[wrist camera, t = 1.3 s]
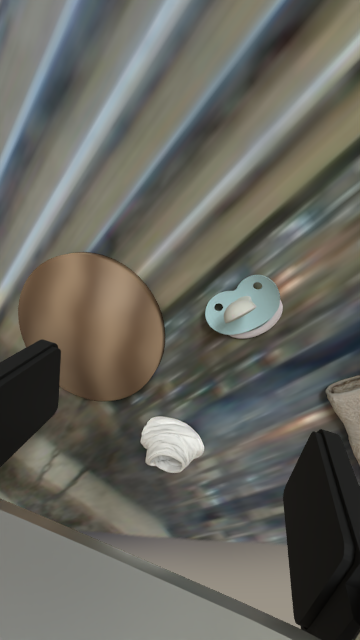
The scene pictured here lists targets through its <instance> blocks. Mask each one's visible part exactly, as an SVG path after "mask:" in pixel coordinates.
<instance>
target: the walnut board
mask: <svg viewBox="0 0 360 640" xmlns="http://www.w3.org/2000/svg"><path fill="white" fill-rule="evenodd" d="M18 317H19V325H20V330H21V334H22V338H23V340H24V343H25V345H26V347H28V346H30V345H32V344H34V343H35V342H37V341H39V340H41V339H44V340H47V341H50V342H53V343H56V344H57V345H58V348H59V349H60V350H61V363H60V381H59V386H60V387H61V388H63V389H65V390H67V391H68V392H70V393H72V394H75V395H77V396H80V397H83V398H86V399H91V400H96V401H113V400H118V399H122V398H125V397H128V396H130V395H132V394H134V393H136V392H137V391H138V390H140V389H141V388H142V387H143V386H144V385H145V384H146V383H147V382H148V381H149V380H150V378H151V377H152V375H153V374H154V372H155V371H156V369H157V368H158V366H159V364H160V362H161V359H162V356H163V353H164V347H165V327H164V321H163V317H162V313H161V311H160V308H159V305H158V303H157V301H156V299H155V297H154V296H153V294H152V292H151V291H150V290H149V288H148V287H147V285H146V284H145V283H144V282H143V281H142V280H141V278H140V277H139V276H137V275H136V274H135V273H134V272H133V271H132V270H131V269H129V268H128V267H126V266H125V265H123V264H122V263H120V262H118V261H116V260H114V259H112V258H110V257H107V256H104V255H100V254H96V253H89V252H77V253H70V254H65V255H61V256H57V257H54V258H52V259H49V260H47V261H46V262H44V263H42V264H41V265H40V266H39V267H37V268H36V269H35V270H34V271H33V272H32V274H31V275H30V276H29V277H28V279H27V281H26V283H25V284H24V287H23V289H22V292H21V295H20V300H19V308H18Z"/></svg>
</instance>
